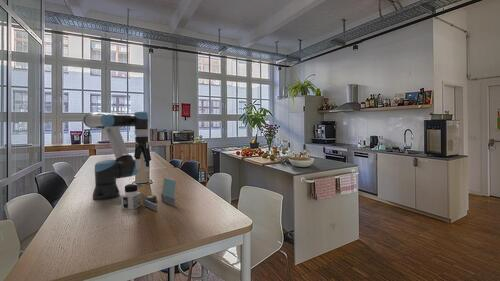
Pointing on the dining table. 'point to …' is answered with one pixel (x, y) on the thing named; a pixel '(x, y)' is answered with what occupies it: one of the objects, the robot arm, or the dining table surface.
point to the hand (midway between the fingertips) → (142, 170)
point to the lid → (169, 188)
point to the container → (131, 197)
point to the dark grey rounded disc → (151, 198)
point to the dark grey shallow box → (163, 198)
